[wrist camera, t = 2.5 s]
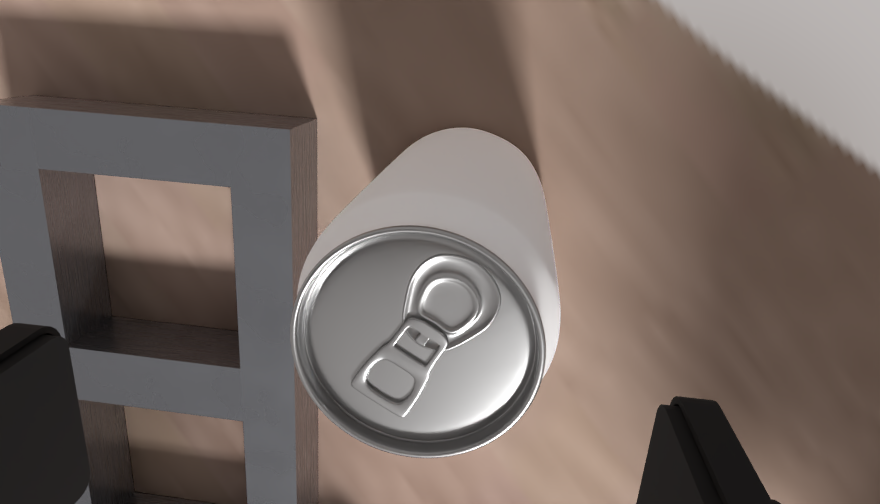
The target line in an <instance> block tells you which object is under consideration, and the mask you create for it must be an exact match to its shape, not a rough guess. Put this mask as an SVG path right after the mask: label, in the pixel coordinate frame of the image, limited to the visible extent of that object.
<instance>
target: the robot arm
mask: <svg viewBox="0 0 880 504" xmlns="http://www.w3.org/2000/svg"><path fill="white" fill-rule="evenodd" d="M89 480H90V466H89V460H88V455H87V449H86V443H85V437H84V431H83V425H82V420H81V414H80V408H79V402H78V396H77V391H76V385H75V379H74V373H73V367H72V362H71V356H70V350H69V345H68V342H67V341H66V340H65V338H63V337H61V335H60V333H59V332H58V331H57V329H55V328H53V327H51V326H42V325H33V324H24V323H13V324H11V325H8V326H6V327H5V328H3V329H1V330H0V504H75V503H76V502H77V501H78V500H79V499H80V497H81V496H82V495H83V494H84V492H85V490H86V488H87V486H88V483H89ZM636 504H781V503H779V502H777V501H776V500H771V499H770V497H769V495H768V493H767V492H766V490H765V488H764V486H763V484H762V482H761V481H760V479H759V477H758V475H757V473H756V471H755V470H754V468H753V466H752V464H751V462H750V460H749V459H748V457H747V455H746V453H745V451H744V450H743V448H742V446H741V444H740V442H739V440H738V439H737V437H736V435H735V433H734V431H733V429H732V428H731V426H730V424H729V422H728V420H727V419H726V417H725V415H724V413H723V411H722V409H721V408H720V406H719V404H718V403H717V402H716V401H713V400H705V399H696V398H687V397H678V396H676V397H674V398H673V400H672V401H671V404H670V405H660V406H659V408H658V410H657V413H656V418H655V422H654V427H653V431H652V436H651V440H650V445H649V449H648V454H647V458H646V463H645V467H644V472H643V476H642V481H641V485H640V490H639V494H638V499H637V503H636Z"/></svg>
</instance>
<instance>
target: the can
mask: <svg viewBox="0 0 880 504" xmlns="http://www.w3.org/2000/svg"><path fill="white" fill-rule="evenodd" d="M560 316H561V313H560V297H559V288H558V280H557V272H556V265H555V258H554V251H553V245H552V238H551V231H550V225H549V219H548V213H547V207H546V201H545V196H544V192H543V188H542V185H541V182H540V179H539V177H538V175H537V173H536V171H535V169H534V167H533V165H532V164H531V162H530V161H529V159H528V158H527V157H526V156H525V154H524V153H523V152H522V151H520V150H519V149H518V148H517V147H516V146H514V145H513V144H511V143H510V142H508V141H506V140H505V139H503V138H501V137H499V136H496V135H494V134H492V133H489V132H486V131H483V130H479V129H474V128H450V129H444V130H440V131H437V132H434V133H431V134H429V135H427V136H425V137H423V138H421V139H419V140H418V141H416V142H414V143H413V144H412V145H410V146H409V147H408V148H407V149H406V150H404V151H403V152H402V153H401V154H400V155H399V156H398V157H397V158H396V159H395V160H394V161H392V162H391V163H390V164H389V165H388V166H387V167H386V168H385V169H384V170H383V171H382V172H381V173H380V174H379V175H378V176H377V177H376V178H375V179H374V180H373V181H372V182H371V183H370V184H369V185H368V186H367V187H366V188H364V189H363V190H362V191H361V192H360V193H359V194H358V195H357V196H356V197H355V198H354V199H353V200H352V201H351V202H350V203H349V204H348V205H347V206H346V207H345V208H344V209H343V210H342V211H341V212H340V213H339V214H338V215H337V216H336V217H335V218H334V220H333V221H332V222H331V223H330V224H329V225H328V226H327V227H326V229H325V230H324V231H323V232H322V234H321V235H320V236H319V238H318V239H317V241H316V242H315V244H314V246H313V247H312V249H311V251H310V253H309V254H308V256H307V259H306V261H305V263H304V266H303V269H302V272H301V275H300V279H299V284H298V291H297V298H296V300H295V303H294V307H293V311H292V316H291V325H290V341H291V350H292V355H293V359H294V363H295V366H296V369H297V372H298V375H299V377H300V379H301V382H302V383H303V385H304V387H305V389H306V391H307V392H308V394H309V396H310V397H311V399H312V400H313V401H314V403H315V404H316V405H317V406H318V408H319V409H320V410H321V411H322V412H323V413H324V414H325V415H326V416H327V417H328V418H329V419H330V420H331V421H332V422H333V423H334V424H335V425H337V426H338V427H339V428H340V429H342V430H343V431H344V432H346V433H347V434H349V435H350V436H352V437H354V438H355V439H357V440H359V441H361V442H363V443H365V444H367V445H369V446H371V447H374V448H376V449H379V450H382V451H385V452H388V453H392V454H396V455H401V456H407V457H415V458H441V457H449V456H454V455H459V454H463V453H466V452H470V451H472V450H475V449H478V448H480V447H482V446H485V445H487V444H488V443H490V442H492V441H494V440H495V439H497V438H499V437H500V436H501V435H503V434H504V433H505V432H507V431H508V430H509V429H510V428H511V427H513V426H514V425H515V424H516V423H517V422H518V421H519V419H520V418H521V417H522V416H523V415H524V414H525V412H526V411H527V409H528V408H529V406H530V405H531V403H532V402H533V400H534V398H535V396H536V394H537V392H538V389H539V387H540V384H541V381H542V379H543V377H544V375H545V374H546V372H547V370H548V368H549V366H550V364H551V362H552V359H553V357H554V354H555V350H556V347H557V343H558V337H559V330H560Z"/></svg>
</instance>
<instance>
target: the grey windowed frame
mask: <svg viewBox="0 0 880 504" xmlns="http://www.w3.org/2000/svg"><path fill="white" fill-rule="evenodd" d="M94 174H98V175H108V176H119V177H129V178H140V179H150V180H161V181H171V182H182V183H192V184H203V185H213V186H224V187H231V200H232V219H233V238H234V257H235V276H236V296H237V315H238V331H231V330H223V329H215V328H206V327H198V326H189V325H181V324H172V323H164V322H155V321H147V320H139V319H130V318H122V317H113V316H112V314H111V306H110V298H109V290H108V283H107V275H106V267H105V259H104V252H103V244H102V236H101V228H100V220H99V213H98V205H97V197H96V189H95V182H94ZM316 241H317V119H312V118H300V117H288V116H276V115H264V114H252V113H240V112H228V111H216V110H204V109H192V108H180V107H168V106H156V105H144V104H132V103H120V102H108V101H96V100H84V99H72V98H60V97H48V96H36V95H31V96H22V97H14V98H5V99H0V257H1V262H2V267H3V273H4V278H5V283H6V289H7V294H8V299H9V304H10V310H11V315H12V320H13V323H24V324H33V325H42V326H51V327H53V328H55V329H57V331H58V332H59V333H60V335H61V337H63V338H65V340H66V341H67V342H68V345H69V350H70V356H71V362H72V367H73V373H74V379H75V385H76V391H77V396H78V402H79V408H80V414H81V420H82V425H83V431H84V437H85V443H86V449H87V455H88V460H89V466H90V480H89V483H88V486H87V488H86V490H85V492H84V494H83V495H82V496H81V497H80V499H79V500H78V501H77V502H76V503H75V504H213V503H207V502H200V501H193V500H186V499H179V498H172V497H166V496H159V495H152V494H145V493H138V492H134V485H133V477H132V469H131V462H130V454H129V446H128V438H127V431H126V423H125V415H124V407H123V405H124V406H132V407H139V408H147V409H154V410H162V411H169V412H177V413H184V414H192V415H199V416H207V417H214V418H222V419H229V420H237V421H243V430H244V449H245V468H246V487H247V504H318V406H317V405H316V404H315V403H314V401H313V400H312V399H311V397H310V396H309V394H308V392H307V391H306V389H305V387H304V385H303V383H302V382H301V379H300V377H299V375H298V372H297V369H296V366H295V363H294V359H293V355H292V350H291V341H290V325H291V316H292V311H293V307H294V303H295V300H296V298H297V291H298V284H299V279H300V275H301V272H302V269H303V266H304V263H305V261H306V259H307V256H308V254H309V253H310V251H311V249H312V247H313V246H314V244H315V242H316Z"/></svg>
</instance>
